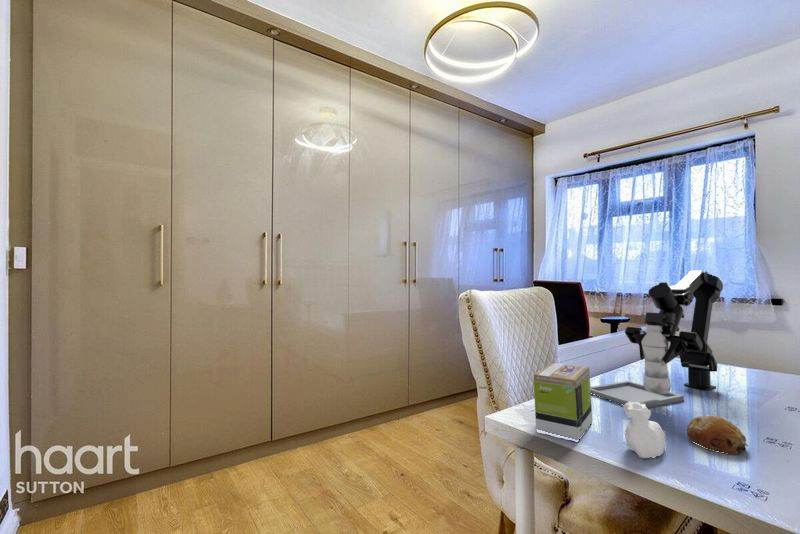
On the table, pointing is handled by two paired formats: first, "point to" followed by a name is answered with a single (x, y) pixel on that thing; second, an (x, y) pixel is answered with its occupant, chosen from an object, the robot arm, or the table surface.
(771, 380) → the table surface
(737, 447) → the bread roll
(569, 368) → the tea box
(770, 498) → the table surface
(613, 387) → the tray
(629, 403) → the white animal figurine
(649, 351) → the plastic bottle
